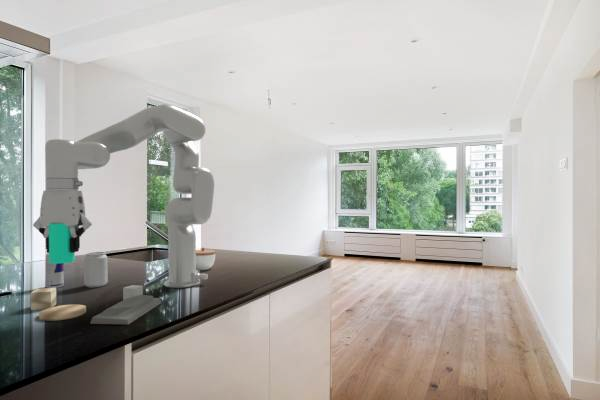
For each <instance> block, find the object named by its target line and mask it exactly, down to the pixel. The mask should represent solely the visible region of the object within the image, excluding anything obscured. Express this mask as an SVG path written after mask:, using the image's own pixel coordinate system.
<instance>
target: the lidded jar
mask: <svg viewBox="0 0 600 400" xmlns="http://www.w3.org/2000/svg"><path fill="white" fill-rule="evenodd" d="M215 261H216V250H213V249H205V247H202V248H201V249H197V250H196V270H198V271H206V270H210V269H211V267H213V265H214V264H215Z"/></svg>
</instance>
